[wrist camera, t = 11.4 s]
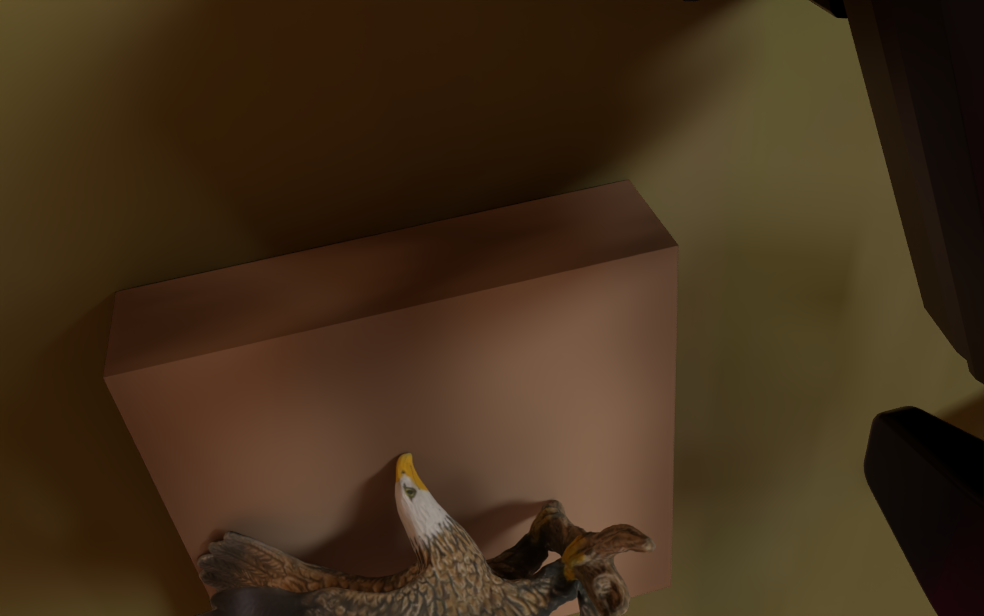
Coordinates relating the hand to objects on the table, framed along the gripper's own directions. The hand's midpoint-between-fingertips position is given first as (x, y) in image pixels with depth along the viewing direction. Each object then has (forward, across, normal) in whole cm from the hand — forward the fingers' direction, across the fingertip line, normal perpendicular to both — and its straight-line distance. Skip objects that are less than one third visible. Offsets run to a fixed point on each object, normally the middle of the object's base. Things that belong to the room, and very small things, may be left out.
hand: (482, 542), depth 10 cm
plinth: (+12, 0, +10) cm, 15 cm away
